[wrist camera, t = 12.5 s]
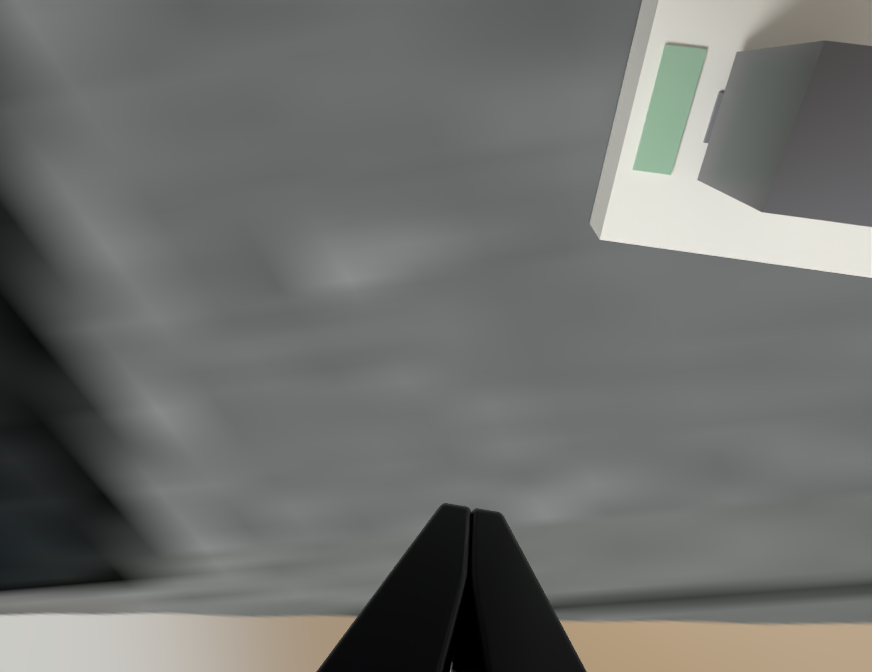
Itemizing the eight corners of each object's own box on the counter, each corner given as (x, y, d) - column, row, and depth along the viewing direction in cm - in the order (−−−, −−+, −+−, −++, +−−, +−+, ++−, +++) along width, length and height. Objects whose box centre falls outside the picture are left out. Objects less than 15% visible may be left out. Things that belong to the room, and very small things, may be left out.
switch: (697, 179, 14) (761, 212, 11) (736, 51, 13) (824, 40, 10) (814, 195, 14) (919, 233, 11) (865, 67, 13) (1004, 61, 9)
